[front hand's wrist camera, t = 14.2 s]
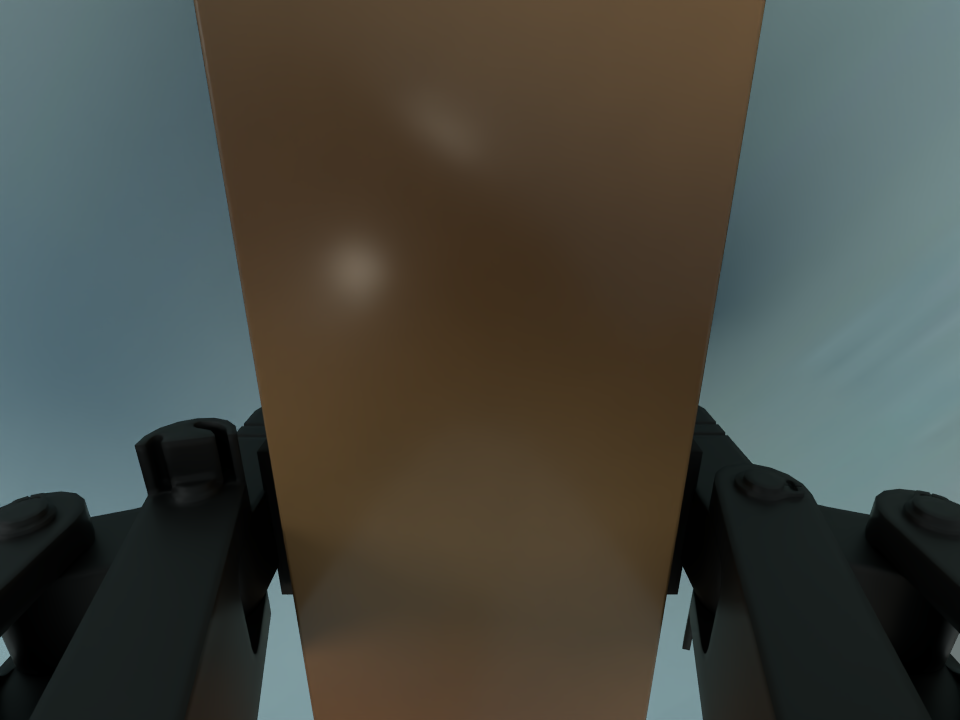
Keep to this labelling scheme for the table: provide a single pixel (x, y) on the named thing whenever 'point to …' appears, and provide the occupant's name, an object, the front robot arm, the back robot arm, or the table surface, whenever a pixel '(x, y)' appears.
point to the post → (479, 328)
